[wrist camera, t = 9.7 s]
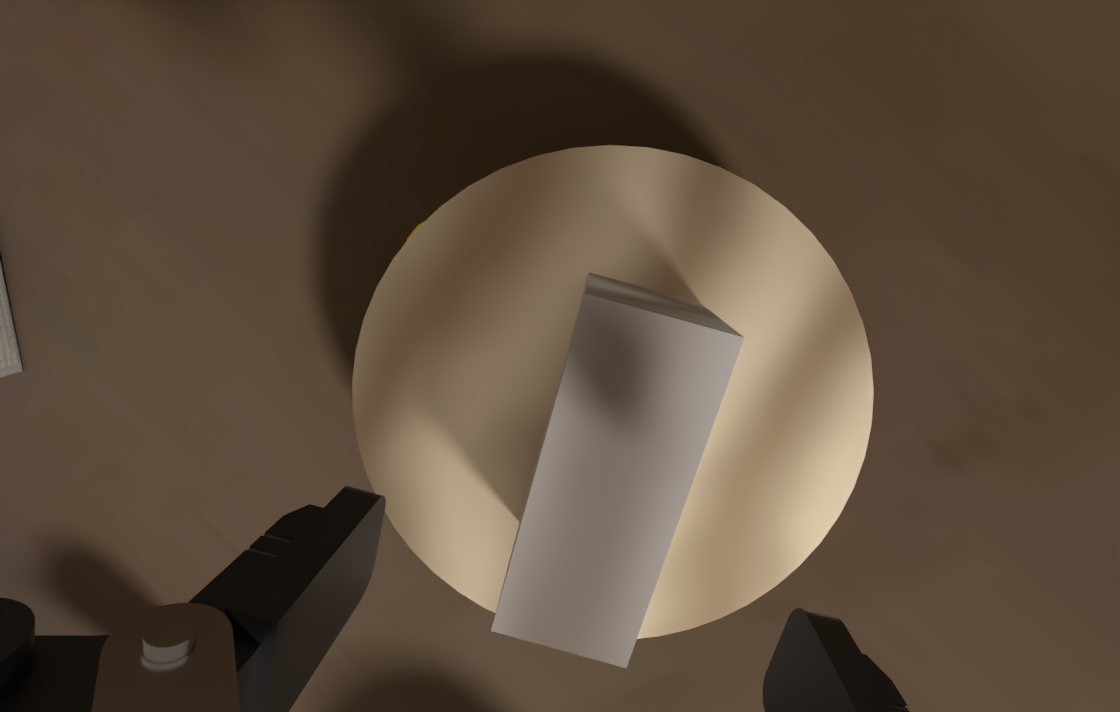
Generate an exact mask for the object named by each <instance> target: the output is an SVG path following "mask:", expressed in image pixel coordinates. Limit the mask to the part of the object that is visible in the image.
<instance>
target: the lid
mask: <svg viewBox="0 0 1120 712" xmlns="http://www.w3.org/2000/svg"><path fill="white" fill-rule="evenodd" d="M873 394H874V389H873V377H872V364H871V355H870V351H869V347H868V342H867V338H866V333H865V329H864V325H863V322H862V319H861V317H860V314H859V311H858V309H857V306H856V304H855V301H854V299H853V296H852V293H851V291H850V289H849V287H848V286H847V284H846V282H845V280H844V279H843V277H842V275H841V273H840V272H839V270H838V268H837V266H836V264H835V263H834V261H833V260H832V258H831V257H830V256H829V254H828V253H827V252H826V251H825V249H824V248H823V247H822V245H821V244H820V243H819V242H818V240H817V239H816V238H815V236H814V235H813V234H812V233H811V231H810V230H808V229H807V228H806V227H805V226H804V225H803V224H802V223H801V222H800V221H799V220H798V219H797V218H796V217H795V216H794V215H793V214H792V213H791V212H790V211H789V210H788V209H787V208H786V207H785V206H783V205H782V204H780V203H779V202H778V201H776V200H775V199H773V198H772V197H771V196H769V195H768V194H766V193H765V192H764V191H762V190H761V189H759V188H758V187H757V186H755V185H754V184H752V183H750V182H748V181H746V180H744V179H742V178H740V177H738V176H736V175H735V174H733V173H731V172H729V171H727V170H725V169H723V168H721V167H718V166H715V165H713V164H710V163H707V162H704V161H701V160H698V159H696V158H693V157H690V156H687V155H684V154H679V153H674V152H669V151H664V150H659V149H654V148H649V147H635V146H618V145H604V146H591V147H578V148H570V149H565V150H561V151H556V152H551V153H547V154H542V155H538V156H534V157H531V158H529V159H526V160H523V161H521V162H518V163H515V164H512V165H510V166H507V167H504V168H502V169H500V170H498V171H496V172H494V173H492V174H490V175H488V176H486V177H485V178H483V179H481V180H479V181H477V182H475V183H473V184H471V185H470V186H468V187H467V188H465V189H464V190H463V191H461V192H460V193H458V194H457V195H456V196H454V197H453V198H452V199H450V200H449V201H447V202H446V203H445V204H443V205H442V206H441V207H439V208H438V209H437V210H436V211H435V212H434V213H433V214H432V215H431V216H430V217H429V218H428V219H427V220H426V221H425V222H424V223H423V224H422V225H421V226H420V227H419V228H418V229H417V230H415V231H414V233H413V234H412V235H411V237H410V238H409V239H408V240H407V242H406V243H405V244H404V245H403V247H402V248H401V249H400V251H399V252H398V253H397V254H396V256H395V257H394V258H393V260H392V262H391V263H390V265H389V267H388V268H387V270H386V272H385V274H384V275H383V277H382V279H381V281H380V282H379V284H378V286H377V287H376V290H375V292H374V295H373V297H372V300H371V302H370V304H369V307H368V309H367V312H366V314H365V317H364V320H363V324H362V327H361V331H360V335H359V339H358V343H357V347H356V352H355V361H354V370H353V379H352V396H353V417H354V423H355V430H356V436H357V443H358V447H359V450H360V453H361V457H362V460H363V464H364V467H365V470H366V474H367V476H368V478H369V481H370V483H371V485H372V487H373V490H374V492H375V494H379V495H383V496H385V499H386V505H385V513H386V514H387V516H388V518H389V519H390V521H391V523H392V524H393V526H394V528H395V529H396V530H397V532H398V533H399V534H400V535H401V537H402V538H403V539H404V541H405V542H406V543H407V544H408V546H409V547H410V548H411V549H412V551H413V552H414V553H415V554H416V555H417V556H418V557H419V558H420V559H421V560H422V561H423V562H424V563H425V564H426V565H427V566H428V567H429V568H430V569H431V570H432V571H433V572H434V573H435V574H436V575H438V576H439V577H440V578H441V579H443V580H444V581H445V582H447V583H448V584H449V585H450V586H452V587H453V588H454V589H455V590H457V591H458V592H459V593H461V594H463V595H464V596H466V597H468V598H469V599H471V600H472V601H474V602H476V603H477V604H479V605H481V606H482V607H484V608H486V609H488V610H490V611H492V612H494V613H496V614H495V618H494V622H493V626H492V629H491V631H493V632H497V633H500V634H504V635H508V636H511V637H515V638H519V639H522V640H526V641H529V642H533V643H537V644H540V645H544V646H547V647H551V648H555V649H558V650H562V651H565V652H569V653H573V654H576V655H580V656H584V657H587V658H591V659H594V660H598V661H602V662H605V663H609V664H612V665H616V666H620V667H623V668H627V665H628V662H629V659H630V656H631V654H632V651H633V648H634V645H635V642H636V640H637V639H640V638H648V637H656V636H663V635H667V634H671V633H676V632H680V631H684V630H688V629H692V628H695V627H698V626H700V625H703V624H706V623H709V622H711V621H714V620H717V619H720V618H722V617H724V616H726V615H728V614H730V613H732V612H734V611H736V610H738V609H740V608H742V607H744V606H746V605H748V604H750V603H751V602H753V601H754V600H756V599H757V598H759V597H760V596H762V595H763V594H765V593H766V592H768V591H769V590H771V589H772V588H774V587H775V586H776V585H778V584H779V583H780V582H781V581H782V580H783V579H785V578H786V577H787V576H788V575H789V574H790V573H792V572H793V571H794V570H795V569H796V568H798V567H799V566H800V565H801V564H802V562H803V561H804V560H805V559H806V558H807V557H808V556H809V555H810V554H811V553H812V551H813V550H814V549H815V548H816V547H817V546H818V545H819V544H820V543H821V541H822V540H823V538H824V537H825V536H826V534H827V533H828V531H829V530H830V528H831V527H832V526H833V524H834V523H835V521H836V520H837V518H838V517H839V515H840V513H841V511H842V509H843V508H844V506H845V504H846V502H847V500H848V498H849V496H850V494H851V492H852V490H853V488H854V486H855V483H856V480H857V477H858V475H859V472H860V469H861V466H862V463H863V461H864V458H865V454H866V449H867V444H868V439H869V434H870V430H871V425H872V410H873Z"/></svg>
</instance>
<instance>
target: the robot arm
mask: <svg viewBox="0 0 1120 712" xmlns="http://www.w3.org/2000/svg"><path fill="white" fill-rule="evenodd" d="M385 505H386V499H385V496H383V495H379V494H375V493H371V492H368V491H364V490H360V489H356V488H353V487H349V486H346V487H344V488H343V489H342V490H341V491H340V492H339V493H338V494H337V495H336V496H335V497H334V498H333V499H332V500H331V501H330V502H329V503H328V504H327V505H326V506H325V507H324V508H321V507H318V506H314V505H310V504H309V505H307V506H305V507H302V508H300V509H298V510H295V511H293V512H291V513H288V514H286V515H284V516H282V517H281V518H280V519H279V520H278V521H277V522H276V523H275V524H274V525H273V526H272V527H270V528H269V529H268V530H267V531H266V532H265V535H264V536H261V537H259V538H258V539H257V540H256V541H255V542H254V543H253V544H252V545H251V546H250V548H249V550H245V551H244V552H243V553H242V554H241V555H240V556H239V557H237V558H236V559H235V560H234V561H233V562H232V563H231V564H230V565H229V566H228V567H226V568H225V569H224V570H223V571H222V572H221V573H220V574H219V575H218V576H217V577H216V578H214V579H213V580H212V581H211V582H210V583H209V584H208V585H207V586H206V587H205V588H203V589H202V590H201V591H200V592H199V593H198V594H197V595H196V596H195V597H194V598H192V599H191V600H190V601H189V602H188V603H177V604H169V605H164V606H160V607H157V608H153V609H150V610H147V611H145V612H143V613H140V614H138V615H136V616H134V617H132V618H131V619H129V620H127V621H126V622H124V623H123V624H121V625H120V626H119V627H118V628H117V629H116V630H114V631H113V632H112V634H111V635H100V636H35V616H34V614H33V612H32V610H31V609H30V608H29V607H28V606H27V605H25V604H23V603H21V602H19V601H15V600H12V599H6V598H0V712H289V710H290V709H291V707H292V706H293V704H294V702H295V701H296V699H297V698H298V696H299V695H300V693H301V692H302V690H303V689H304V687H305V685H306V684H307V682H308V681H309V679H310V678H311V676H312V675H313V673H314V671H315V670H316V668H317V667H318V665H319V664H320V662H321V661H322V659H323V658H324V656H325V654H326V653H327V651H328V650H329V648H330V647H331V645H332V644H333V642H334V641H335V639H336V637H337V636H338V634H339V633H340V631H341V630H342V628H343V627H344V625H345V624H346V622H347V620H348V619H349V617H350V616H351V614H352V613H353V611H354V610H355V608H356V606H357V605H358V603H359V602H360V600H361V599H362V597H363V595H364V593H365V591H366V588H367V586H368V583H369V581H370V578H371V575H372V572H373V568H374V563H375V558H376V553H377V548H378V542H379V537H380V532H381V527H382V522H383V516H384V511H385ZM763 704H764V709H765V712H909V711H908V706H907V704H906V703H905V701H904V699H903V698H902V696H901V695H900V693H899V691H898V690H897V688H896V687H895V685H894V684H893V682H892V680H891V679H890V678H889V677H888V676H887V675H886V674H885V673H884V672H883V671H882V670H881V669H880V668H879V667H878V666H877V665H876V664H875V663H874V662H873V661H872V660H871V659H870V658H869V657H868V656H867V655H865V654H862V653H861V652H860V650H859V648H858V647H857V645H856V643H855V642H854V640H853V638H852V637H851V635H850V633H849V632H848V630H847V628H846V627H845V625H844V624H843V622H842V621H841V620H840V619H838V618H834V617H831V616H827V615H823V614H820V613H816V612H812V611H808V610H805V609H801V608H797V609H795V610H793V611H792V613H791V614H790V616H789V618H788V620H787V623H786V625H785V627H784V630H783V632H782V635H781V637H780V640H779V642H778V645H777V647H776V649H775V652H774V654H773V657H772V659H771V662H770V664H769V666H768V669H767V671H766V674H765V678H764V684H763Z"/></svg>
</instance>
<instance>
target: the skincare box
mask: <svg viewBox="0 0 1120 712" xmlns="http://www.w3.org/2000/svg"><path fill="white" fill-rule="evenodd" d="M22 370H23V369H22V364H21V359H20V354H19V349H18V344H17V339H16V334H15V329H14V325H13V320H12V314H11V309H10V305H9V300H8V295H7V290H6V285H5V280H4V275H3V270H2V265H1V260H0V378H1V377H5V376H8V375H11V374H14V373H17V372H21V371H22Z"/></svg>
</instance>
